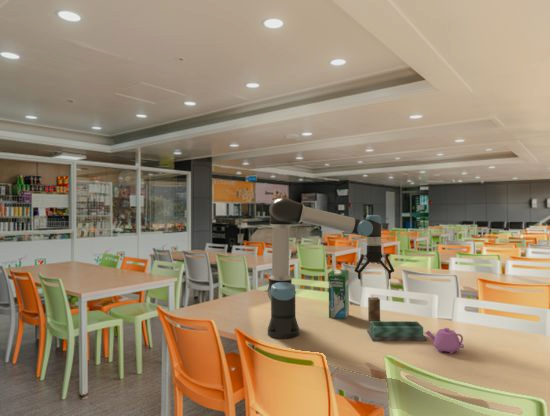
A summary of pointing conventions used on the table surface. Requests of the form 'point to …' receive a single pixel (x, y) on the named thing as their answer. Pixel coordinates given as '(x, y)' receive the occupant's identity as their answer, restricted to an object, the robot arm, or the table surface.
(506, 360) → the table surface
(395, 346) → the table surface
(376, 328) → the green tray
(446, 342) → the teapot
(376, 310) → the walnut block
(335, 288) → the milk carton
